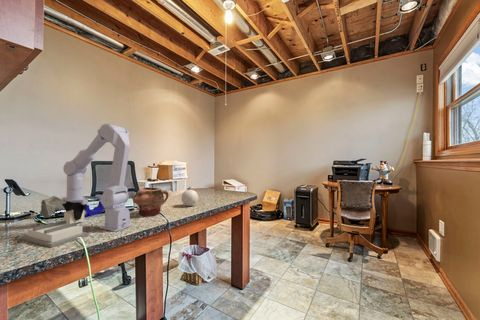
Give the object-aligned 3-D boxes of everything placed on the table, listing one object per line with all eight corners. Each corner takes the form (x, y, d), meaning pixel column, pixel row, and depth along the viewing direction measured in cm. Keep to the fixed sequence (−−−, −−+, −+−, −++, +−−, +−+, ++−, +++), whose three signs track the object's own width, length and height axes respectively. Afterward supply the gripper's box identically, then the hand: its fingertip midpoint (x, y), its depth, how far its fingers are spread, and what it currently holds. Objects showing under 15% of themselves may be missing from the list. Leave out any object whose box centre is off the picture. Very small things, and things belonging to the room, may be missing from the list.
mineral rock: (67, 211, 117) (68, 192, 117) (74, 214, 111) (75, 195, 111) (35, 215, 107) (36, 195, 107) (41, 219, 100) (42, 198, 100)
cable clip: (98, 211, 118) (98, 200, 118) (105, 212, 117) (105, 201, 117) (78, 217, 106) (78, 205, 106) (86, 217, 106) (86, 205, 106)
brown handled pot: (159, 208, 127) (160, 185, 127) (174, 211, 121) (174, 187, 121) (127, 216, 110) (128, 189, 110) (142, 220, 104) (143, 191, 104)
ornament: (185, 203, 142) (186, 185, 142) (200, 204, 140) (200, 186, 140) (178, 207, 132) (178, 187, 132) (194, 208, 130) (194, 188, 130)
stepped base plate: (88, 235, 82) (88, 223, 82) (51, 247, 71) (51, 234, 71) (59, 229, 88) (59, 218, 88) (21, 238, 77) (21, 226, 77)
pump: (87, 219, 99) (87, 209, 99) (69, 224, 92) (70, 212, 92) (81, 218, 101) (82, 208, 101) (63, 223, 94) (64, 211, 94)
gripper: (94, 188, 97) (94, 218, 97) (74, 186, 102) (73, 214, 102) (78, 190, 90) (77, 222, 90) (56, 188, 95) (56, 218, 95)
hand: (74, 218), depth 96 cm, fingers closed on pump, 4 cm apart
